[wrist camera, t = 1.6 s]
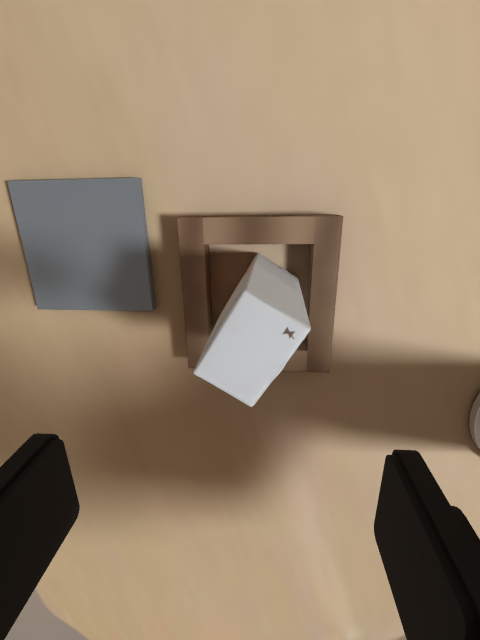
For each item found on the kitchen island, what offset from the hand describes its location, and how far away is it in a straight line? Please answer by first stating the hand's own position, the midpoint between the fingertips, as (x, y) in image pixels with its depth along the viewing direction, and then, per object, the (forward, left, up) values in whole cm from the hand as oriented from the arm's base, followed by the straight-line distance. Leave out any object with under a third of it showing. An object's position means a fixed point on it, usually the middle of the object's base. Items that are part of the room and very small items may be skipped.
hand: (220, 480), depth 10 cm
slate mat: (+15, -4, -21) cm, 26 cm away
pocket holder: (0, 0, -21) cm, 21 cm away
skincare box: (0, 0, -21) cm, 21 cm away
